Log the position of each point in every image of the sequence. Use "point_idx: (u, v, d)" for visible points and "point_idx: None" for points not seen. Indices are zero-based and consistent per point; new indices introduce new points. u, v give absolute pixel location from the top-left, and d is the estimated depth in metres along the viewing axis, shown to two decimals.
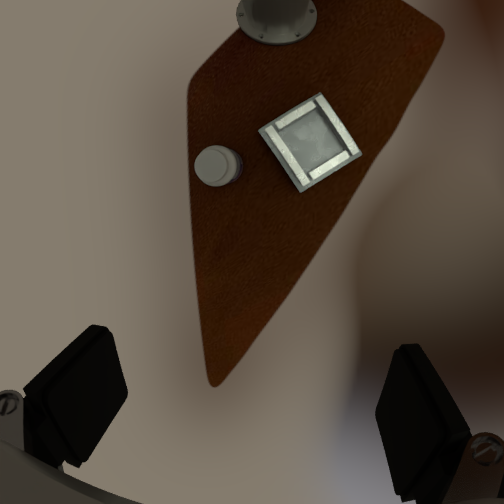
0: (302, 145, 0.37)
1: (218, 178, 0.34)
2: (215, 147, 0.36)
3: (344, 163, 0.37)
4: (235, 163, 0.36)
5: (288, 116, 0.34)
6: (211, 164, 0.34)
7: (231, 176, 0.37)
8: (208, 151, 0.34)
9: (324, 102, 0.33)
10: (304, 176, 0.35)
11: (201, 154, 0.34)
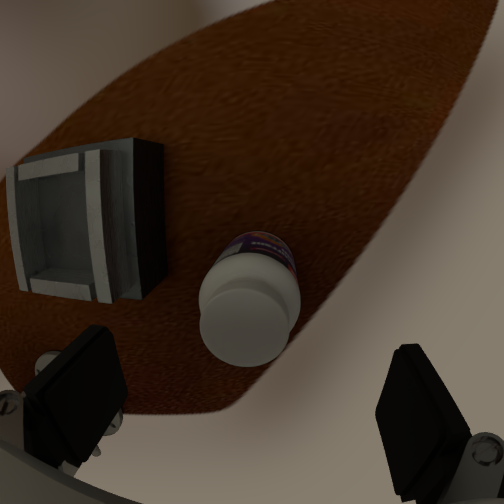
0: (86, 224, 0.17)
1: (245, 292, 0.12)
2: None
3: (47, 155, 0.16)
4: (204, 281, 0.15)
5: (68, 294, 0.16)
6: (240, 332, 0.13)
7: (229, 262, 0.15)
8: (226, 359, 0.13)
9: (19, 276, 0.16)
10: (88, 168, 0.14)
11: (245, 364, 0.13)
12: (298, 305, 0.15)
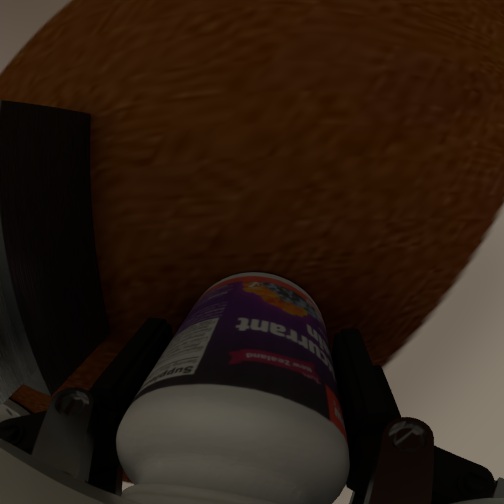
0: None
1: None
2: None
3: None
4: (119, 431, 0.05)
5: None
6: None
7: (165, 416, 0.04)
8: None
9: None
10: None
11: None
12: (343, 486, 0.05)
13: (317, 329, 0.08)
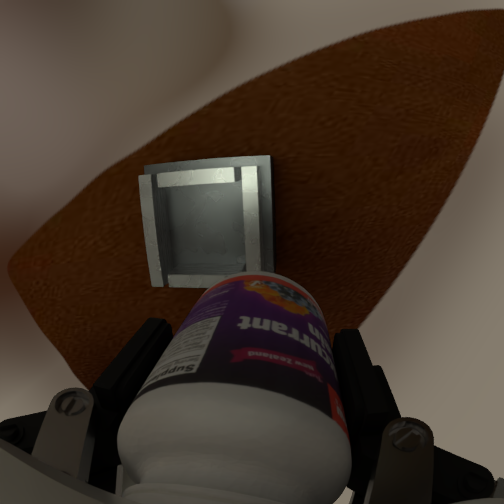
0: (223, 225, 0.23)
1: None
2: None
3: (176, 164, 0.22)
4: (120, 430, 0.05)
5: None
6: None
7: (167, 415, 0.04)
8: None
9: (153, 273, 0.22)
10: (245, 180, 0.19)
11: None
12: (346, 485, 0.05)
13: (318, 328, 0.08)
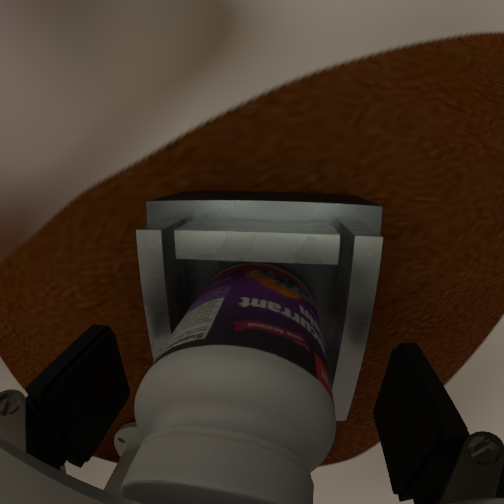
0: None
1: (206, 489, 0.03)
2: None
3: (208, 205, 0.12)
4: (138, 392, 0.06)
5: None
6: None
7: (182, 371, 0.06)
8: None
9: None
10: (358, 263, 0.10)
11: None
12: (331, 443, 0.06)
13: (309, 310, 0.10)
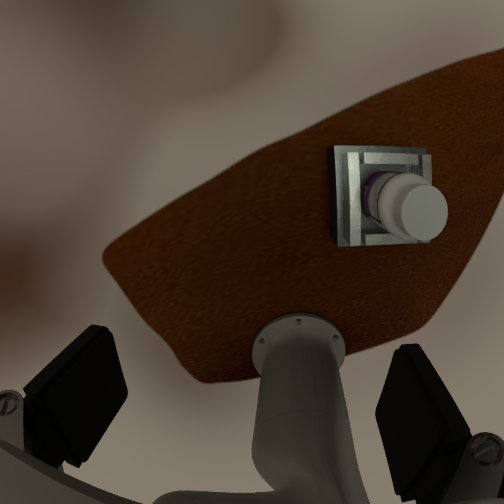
0: None
1: (426, 187, 0.18)
2: (396, 232, 0.21)
3: (362, 147, 0.26)
4: (385, 191, 0.20)
5: (400, 241, 0.26)
6: (424, 213, 0.18)
7: (401, 177, 0.20)
8: (415, 235, 0.18)
9: (353, 234, 0.26)
10: (424, 164, 0.23)
11: (425, 237, 0.18)
12: None
13: None
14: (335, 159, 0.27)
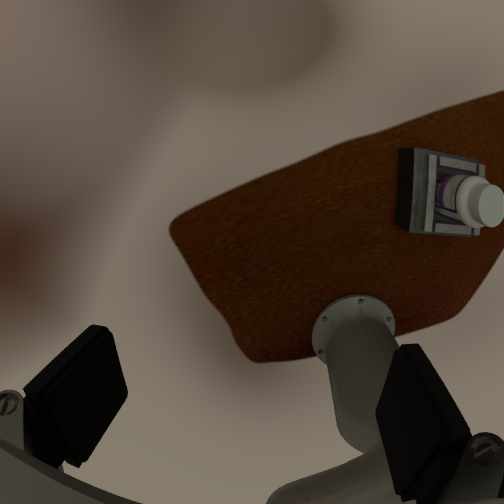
0: None
1: (494, 187, 0.20)
2: (468, 220, 0.23)
3: (434, 152, 0.28)
4: (462, 187, 0.23)
5: (459, 231, 0.28)
6: (492, 206, 0.20)
7: (473, 178, 0.22)
8: (485, 221, 0.21)
9: (427, 222, 0.28)
10: (480, 172, 0.26)
11: (491, 225, 0.21)
12: None
13: None
14: (414, 159, 0.29)
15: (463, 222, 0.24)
